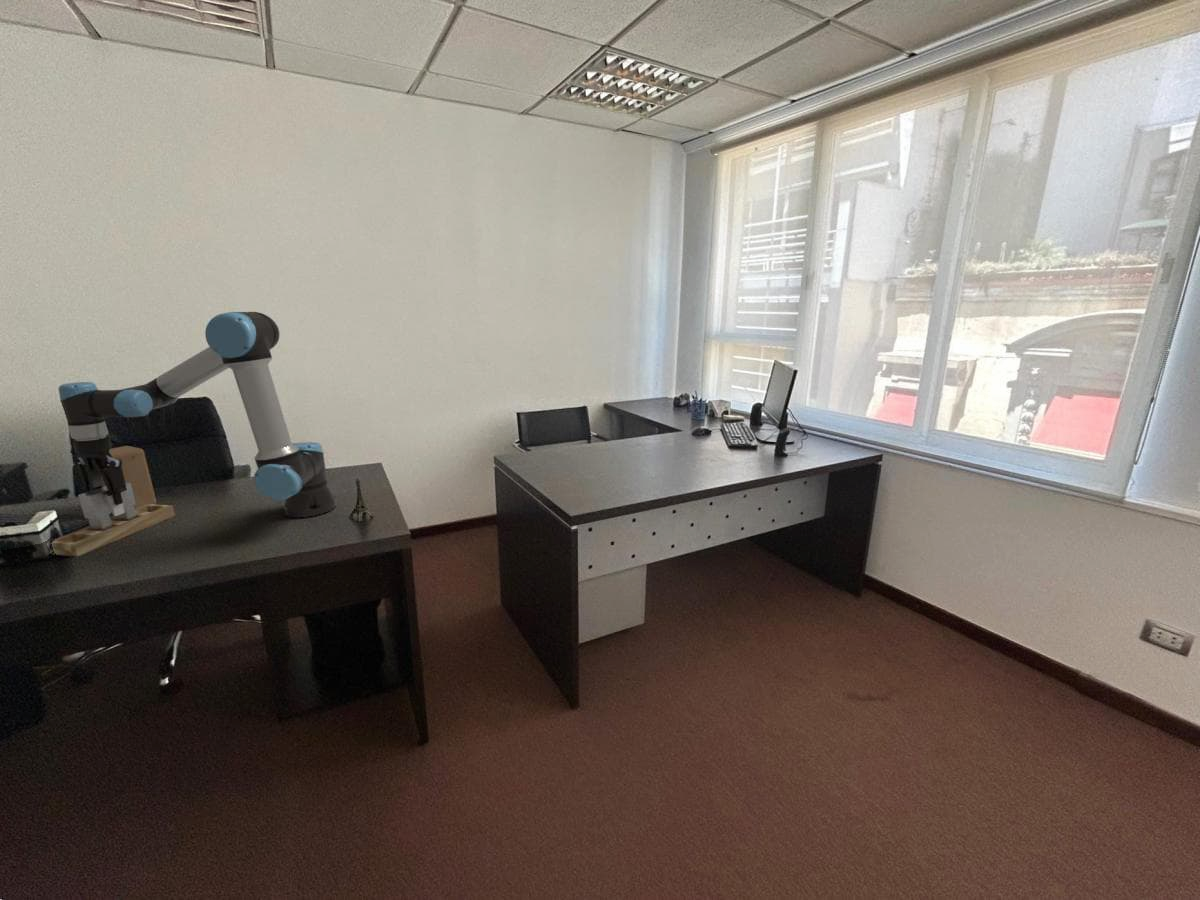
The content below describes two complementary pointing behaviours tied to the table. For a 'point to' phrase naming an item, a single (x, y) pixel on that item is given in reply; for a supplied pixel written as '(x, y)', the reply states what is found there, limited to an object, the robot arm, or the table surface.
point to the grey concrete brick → (106, 507)
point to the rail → (110, 531)
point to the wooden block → (135, 473)
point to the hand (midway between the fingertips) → (112, 513)
